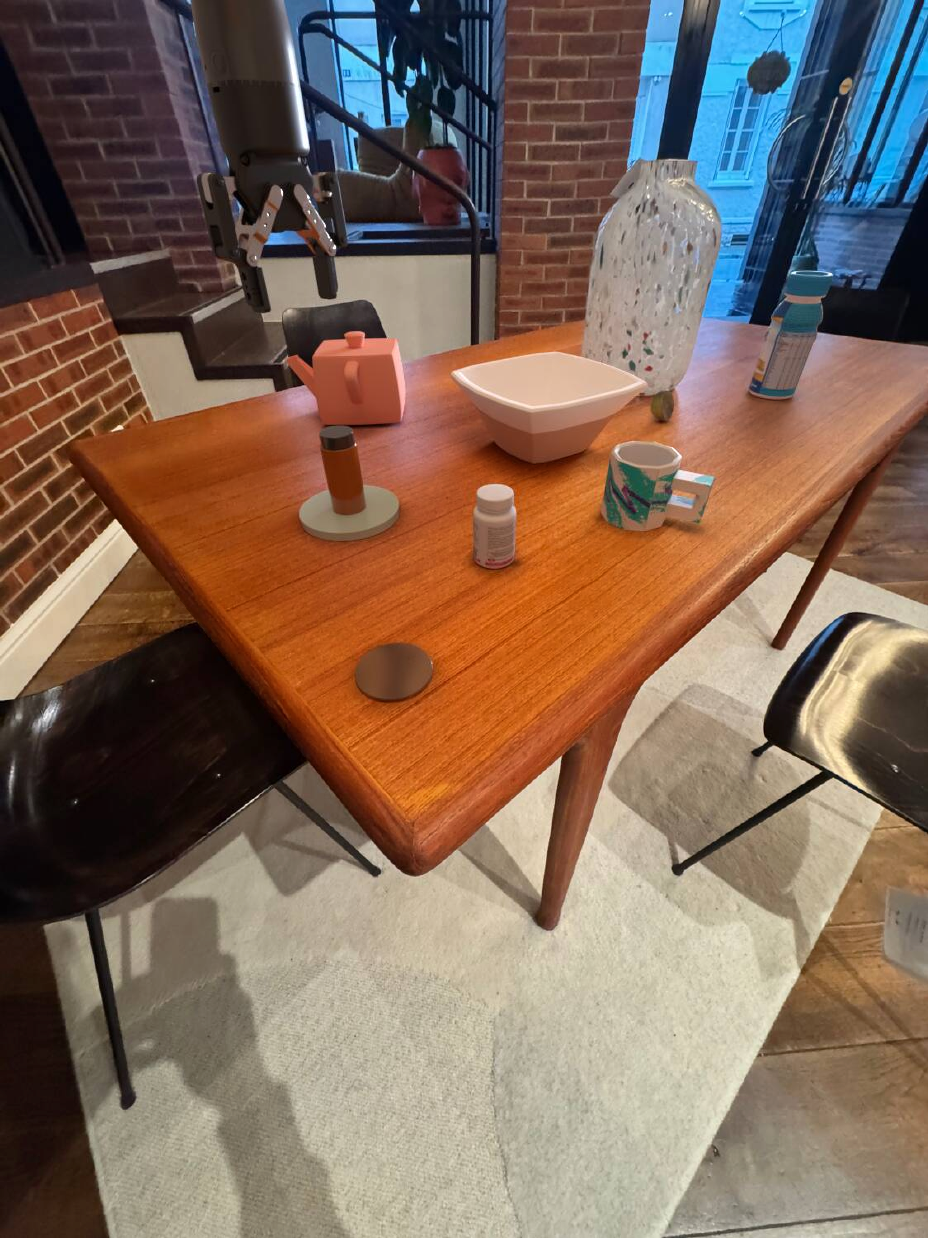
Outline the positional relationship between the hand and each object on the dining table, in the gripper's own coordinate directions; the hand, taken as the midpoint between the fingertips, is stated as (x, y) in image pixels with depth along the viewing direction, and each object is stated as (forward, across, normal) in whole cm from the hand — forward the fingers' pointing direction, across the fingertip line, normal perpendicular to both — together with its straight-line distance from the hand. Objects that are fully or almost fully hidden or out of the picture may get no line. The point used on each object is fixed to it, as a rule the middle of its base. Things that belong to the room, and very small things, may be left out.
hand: (296, 304), depth 54 cm
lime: (+24, -58, +22) cm, 66 cm away
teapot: (+24, -27, -26) cm, 45 cm away
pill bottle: (+24, -4, +23) cm, 34 cm away
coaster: (+24, +17, +26) cm, 39 cm away
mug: (+24, -23, +34) cm, 47 cm away
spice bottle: (+23, -1, +2) cm, 23 cm away
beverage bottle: (+24, -83, +34) cm, 93 cm away
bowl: (+24, -35, +10) cm, 44 cm away
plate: (+24, -1, +2) cm, 24 cm away
